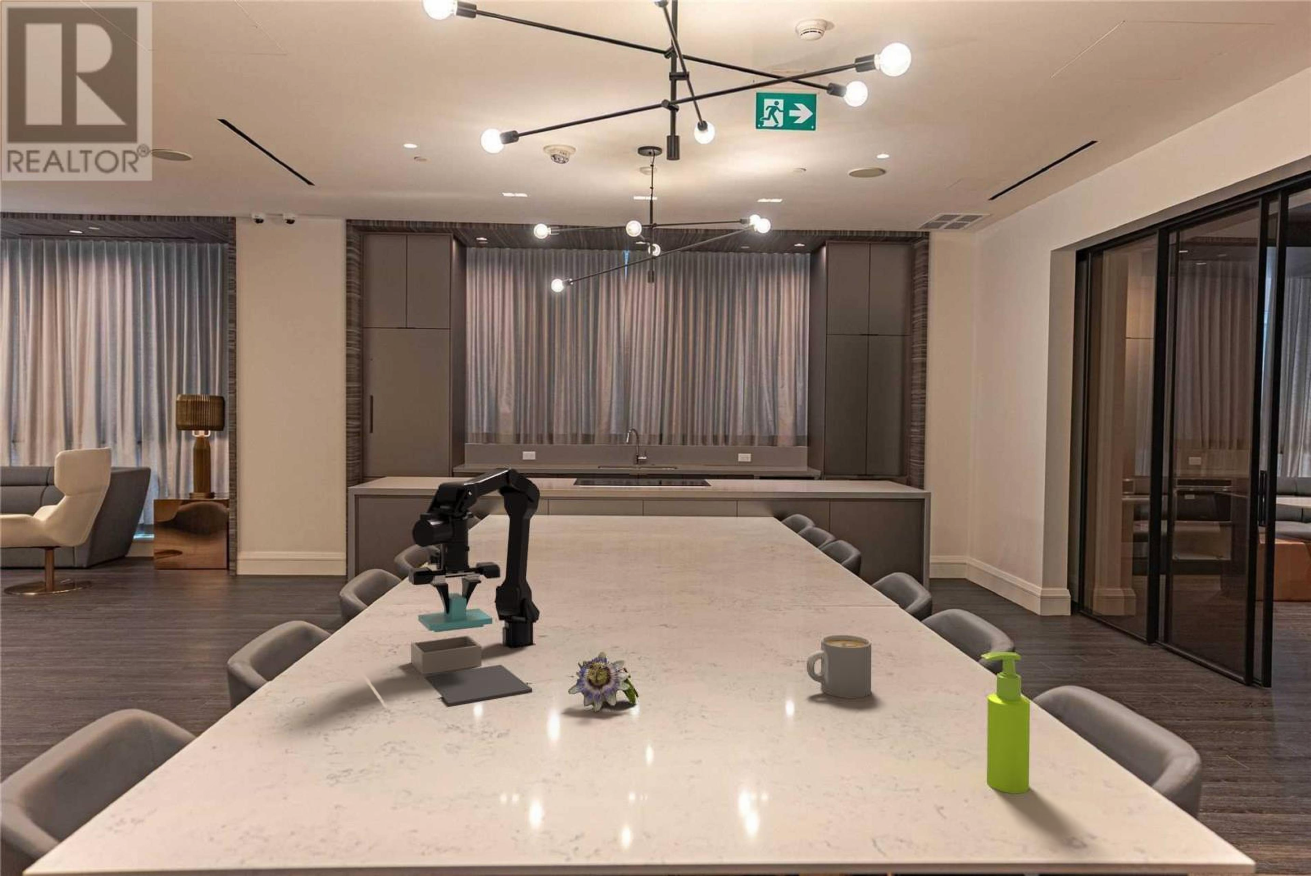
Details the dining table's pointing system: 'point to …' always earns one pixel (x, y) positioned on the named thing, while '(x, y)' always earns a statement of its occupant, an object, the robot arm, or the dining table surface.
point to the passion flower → (603, 682)
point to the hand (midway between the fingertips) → (455, 612)
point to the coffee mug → (843, 666)
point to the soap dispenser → (1008, 729)
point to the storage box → (445, 654)
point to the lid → (455, 616)
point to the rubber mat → (477, 684)
